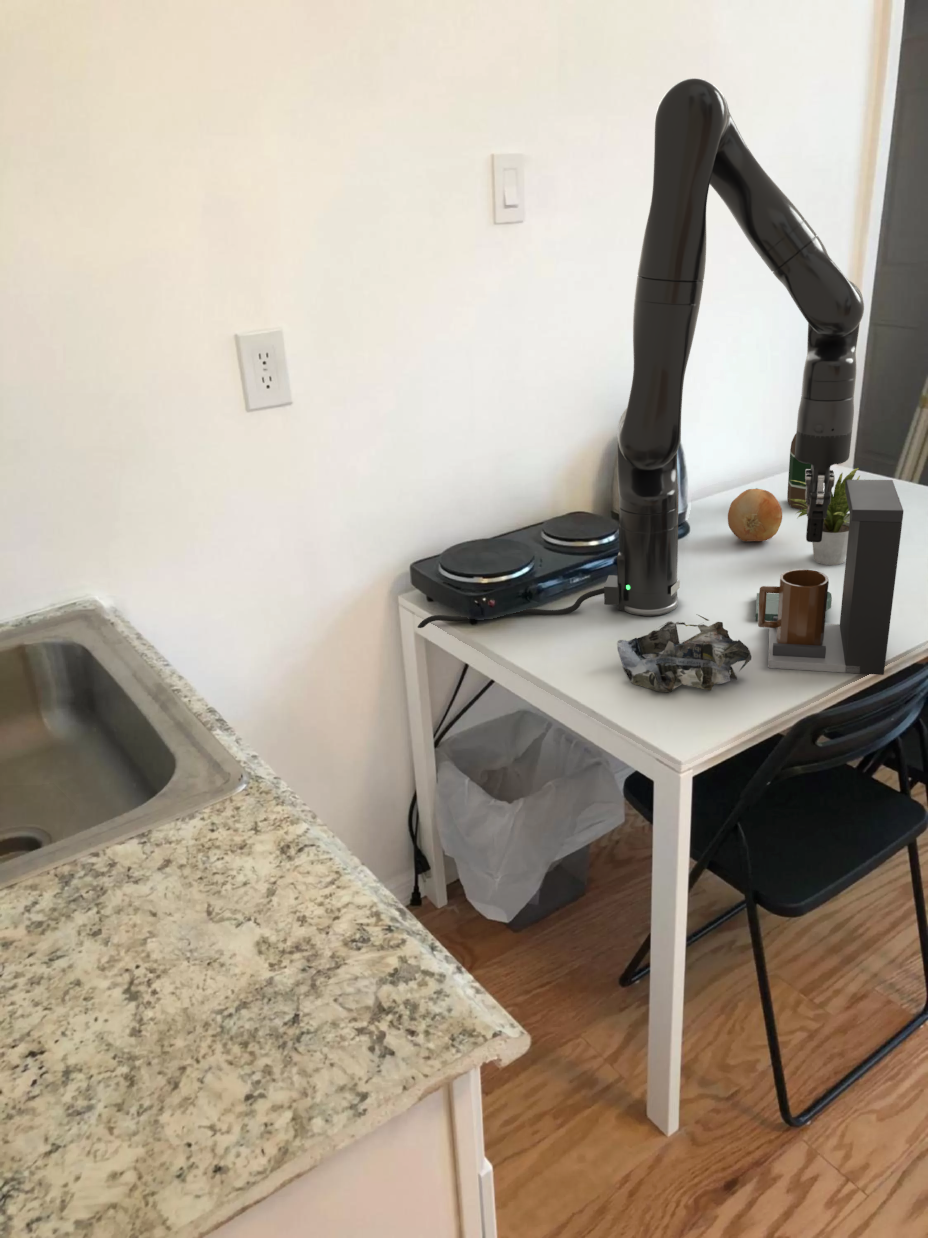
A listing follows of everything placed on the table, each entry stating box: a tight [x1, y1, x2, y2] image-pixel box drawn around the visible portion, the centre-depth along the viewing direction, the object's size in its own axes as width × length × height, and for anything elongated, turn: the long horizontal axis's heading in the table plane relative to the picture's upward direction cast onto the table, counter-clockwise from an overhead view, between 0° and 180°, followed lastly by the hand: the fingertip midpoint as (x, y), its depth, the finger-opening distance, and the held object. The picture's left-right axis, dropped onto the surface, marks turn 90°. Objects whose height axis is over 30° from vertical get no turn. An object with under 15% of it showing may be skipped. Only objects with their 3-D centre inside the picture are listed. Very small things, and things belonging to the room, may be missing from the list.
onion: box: [727, 488, 783, 542], centre depth 174 cm, size 10×10×10 cm
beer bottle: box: [786, 433, 812, 510], centre depth 187 cm, size 8×8×24 cm
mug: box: [757, 568, 829, 646], centre depth 134 cm, size 9×6×10 cm
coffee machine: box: [767, 479, 904, 676], centre depth 130 cm, size 15×13×24 cm
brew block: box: [755, 591, 833, 621], centre depth 147 cm, size 11×8×3 cm
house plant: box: [790, 467, 861, 566], centre depth 162 cm, size 14×14×16 cm
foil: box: [616, 614, 752, 693], centre depth 130 cm, size 12×11×15 cm
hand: (813, 540), depth 141 cm, fingers closed
